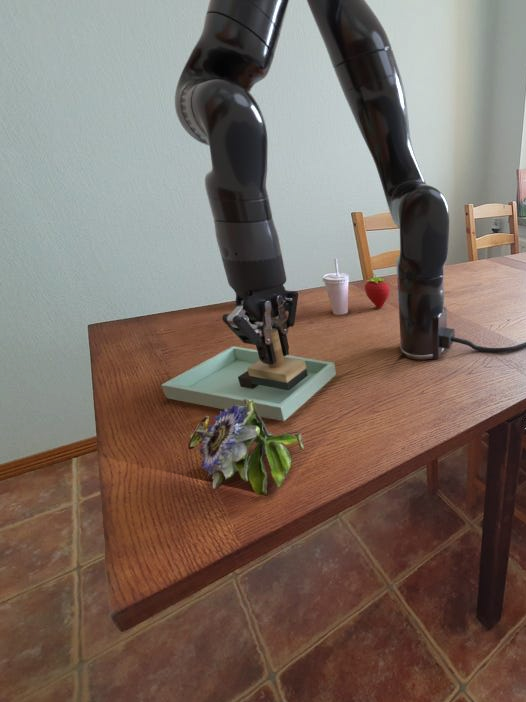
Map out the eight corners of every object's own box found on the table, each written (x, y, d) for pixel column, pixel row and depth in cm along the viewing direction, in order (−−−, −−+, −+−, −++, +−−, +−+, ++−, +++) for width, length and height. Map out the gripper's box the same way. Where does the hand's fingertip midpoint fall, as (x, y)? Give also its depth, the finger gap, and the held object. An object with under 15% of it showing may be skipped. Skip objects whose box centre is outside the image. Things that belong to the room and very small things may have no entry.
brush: (307, 375, 65) (299, 328, 61) (288, 390, 60) (277, 340, 56) (272, 369, 66) (261, 322, 62) (251, 383, 62) (237, 334, 57)
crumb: (263, 381, 66) (260, 372, 65) (253, 389, 64) (250, 379, 63) (251, 379, 67) (248, 369, 66) (240, 386, 64) (237, 377, 63)
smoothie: (345, 318, 95) (338, 263, 88) (322, 315, 96) (313, 260, 89) (357, 309, 101) (351, 257, 94) (335, 306, 102) (328, 254, 95)
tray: (336, 378, 70) (334, 362, 68) (284, 425, 57) (280, 407, 56) (237, 360, 74) (232, 345, 72) (167, 401, 61) (160, 384, 59)
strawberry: (377, 314, 98) (374, 277, 93) (361, 307, 102) (357, 271, 98) (396, 309, 102) (394, 273, 97) (379, 302, 106) (376, 267, 102)
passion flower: (232, 507, 50) (178, 433, 48) (307, 457, 56) (262, 389, 54) (233, 523, 41) (167, 432, 39) (323, 461, 47) (270, 380, 45)
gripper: (236, 266, 46) (265, 384, 55) (305, 245, 59) (321, 344, 67) (185, 260, 48) (222, 375, 56) (263, 240, 60) (284, 338, 68)
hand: (276, 358), depth 61 cm, fingers closed on brush, 2 cm apart
